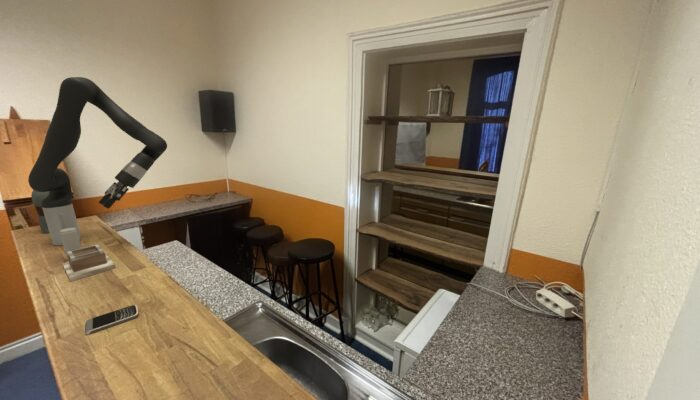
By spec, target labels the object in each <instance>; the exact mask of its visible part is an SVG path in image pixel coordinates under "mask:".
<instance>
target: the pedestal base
mask: <svg viewBox="0 0 700 400" xmlns="http://www.w3.org/2000/svg"><path fill="white" fill-rule="evenodd" d="M67 253H68V255H67V257H68V259H67V262H62V267H63V269H64V272H65V273H66V276H67V278H68V279H69V281H70V282H74V281H76V280H77V281H78V280H81V279H85V278H87V277H90V276H93V275H97V274H100V273H104V272H107V271H110V270H111V271H112V270H113V269H116V264H115V263H114V262H113V261H112V260H111V258H110V257H109V256H108V255H107V254H106V252H105V251H104V249H103V247H102V248H101V246H100V245H99V244H98V243H97V244H93V245H89V246H84V247H82V248H80V249H76V250H72V251H68V252H67ZM67 257H66V258H67Z"/></svg>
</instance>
